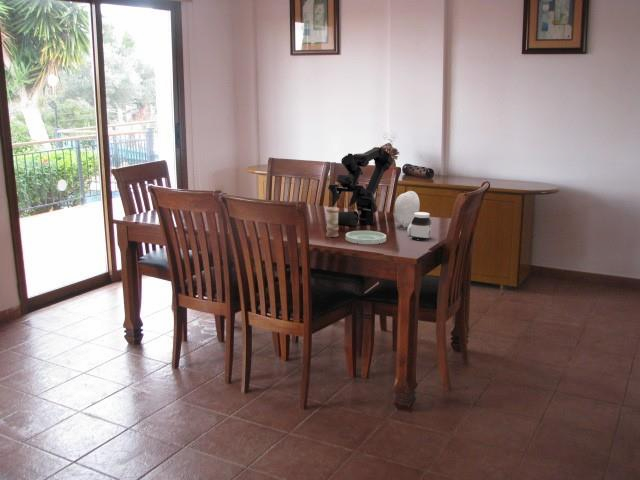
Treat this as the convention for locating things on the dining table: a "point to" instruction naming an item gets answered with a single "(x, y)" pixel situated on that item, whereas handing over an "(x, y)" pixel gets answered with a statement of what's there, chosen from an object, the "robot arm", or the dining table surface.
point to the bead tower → (332, 222)
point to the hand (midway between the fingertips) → (341, 205)
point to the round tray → (365, 237)
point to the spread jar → (420, 226)
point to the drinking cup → (349, 218)
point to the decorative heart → (406, 207)
